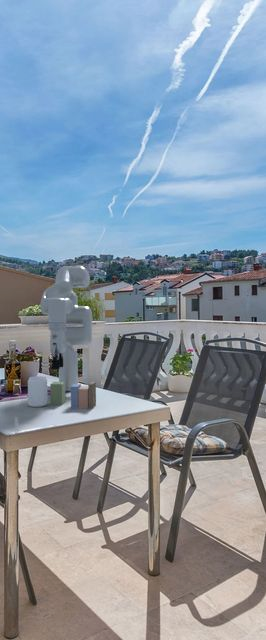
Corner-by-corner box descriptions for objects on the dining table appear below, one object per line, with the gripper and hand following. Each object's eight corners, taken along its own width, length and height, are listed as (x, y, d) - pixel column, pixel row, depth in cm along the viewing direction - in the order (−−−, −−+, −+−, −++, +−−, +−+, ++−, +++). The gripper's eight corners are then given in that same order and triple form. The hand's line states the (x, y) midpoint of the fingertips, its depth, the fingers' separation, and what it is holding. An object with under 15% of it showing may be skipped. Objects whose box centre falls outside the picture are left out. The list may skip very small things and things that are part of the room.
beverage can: (28, 408, 211) (28, 379, 210) (27, 404, 219) (27, 376, 218) (48, 407, 213) (47, 378, 212) (46, 403, 220) (46, 375, 220)
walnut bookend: (91, 404, 217) (91, 381, 216) (96, 404, 216) (95, 381, 216) (88, 408, 210) (88, 384, 209) (93, 408, 210) (93, 384, 209)
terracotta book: (81, 405, 217) (81, 386, 216) (90, 405, 216) (90, 386, 216) (78, 408, 210) (78, 389, 210) (87, 408, 210) (87, 389, 210)
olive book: (54, 401, 223) (54, 381, 223) (65, 402, 223) (65, 381, 223) (50, 405, 217) (50, 384, 217) (62, 405, 216) (61, 384, 216)
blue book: (74, 404, 217) (73, 384, 217) (80, 404, 217) (80, 384, 216) (70, 408, 211) (70, 386, 210) (77, 408, 210) (77, 386, 210)
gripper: (61, 327, 210) (61, 370, 210) (70, 325, 227) (70, 365, 228) (43, 327, 210) (44, 370, 211) (53, 325, 228) (54, 365, 228)
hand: (57, 367), depth 219 cm, fingers open, 6 cm apart
